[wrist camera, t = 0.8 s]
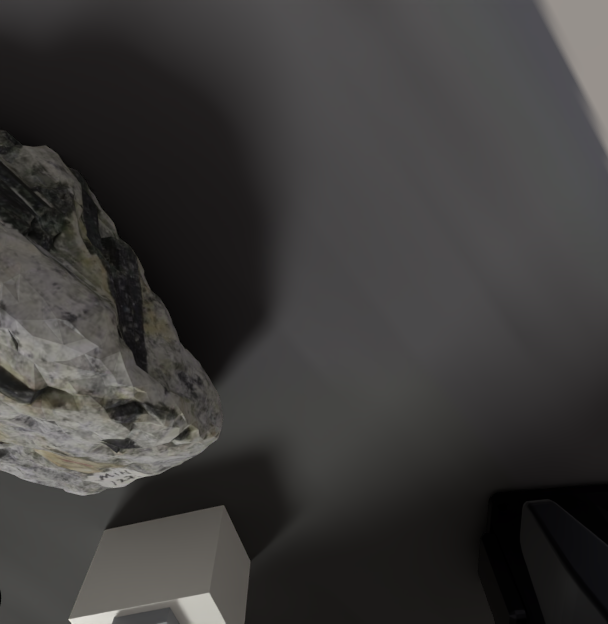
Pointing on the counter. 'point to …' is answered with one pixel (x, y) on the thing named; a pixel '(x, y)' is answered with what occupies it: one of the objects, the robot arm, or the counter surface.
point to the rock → (86, 342)
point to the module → (167, 573)
